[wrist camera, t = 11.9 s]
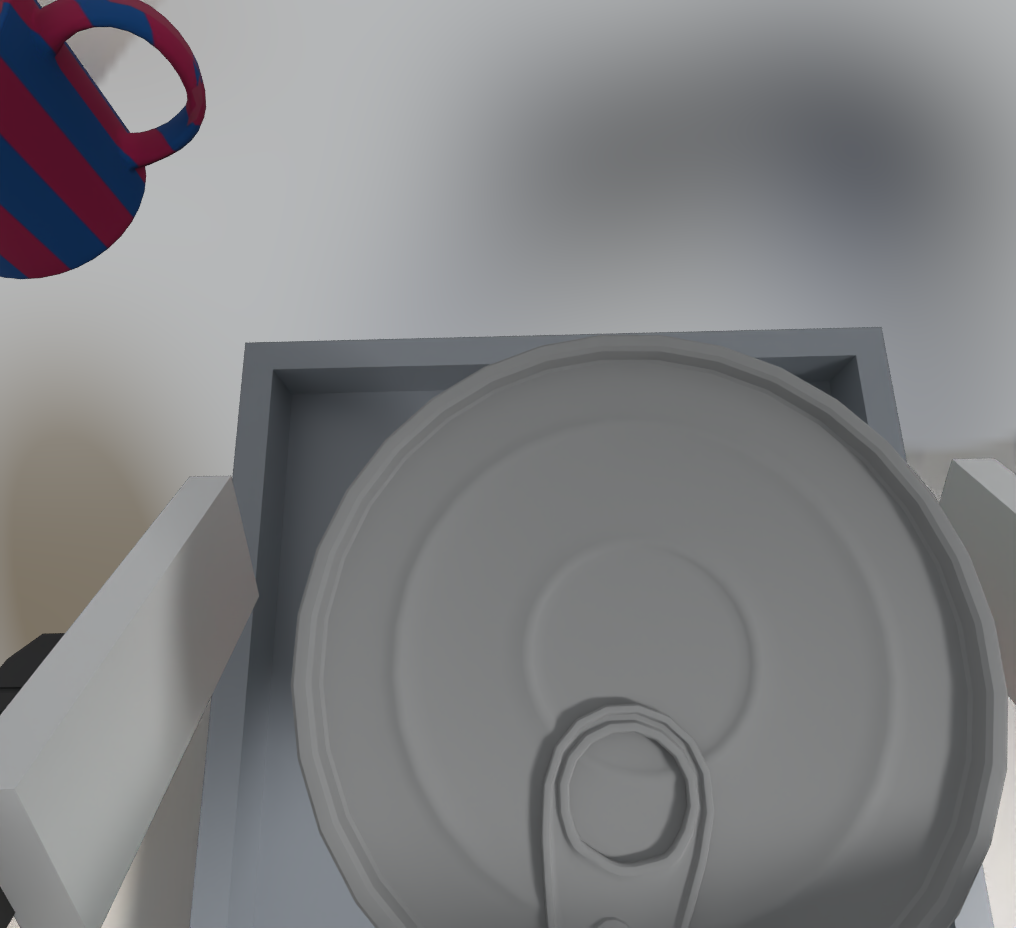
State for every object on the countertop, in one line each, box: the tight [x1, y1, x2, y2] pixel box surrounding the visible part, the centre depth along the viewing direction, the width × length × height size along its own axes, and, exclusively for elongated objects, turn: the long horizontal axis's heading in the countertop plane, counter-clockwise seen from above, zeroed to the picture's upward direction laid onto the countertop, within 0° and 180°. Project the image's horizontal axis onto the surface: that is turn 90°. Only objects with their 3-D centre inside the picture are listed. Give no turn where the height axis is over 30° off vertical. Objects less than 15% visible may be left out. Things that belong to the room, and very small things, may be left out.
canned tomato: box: [291, 335, 1008, 928], centre depth 13 cm, size 8×8×11 cm
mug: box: [0, 0, 206, 279], centre depth 21 cm, size 7×10×7 cm
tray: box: [190, 327, 994, 928], centre depth 18 cm, size 17×17×2 cm
